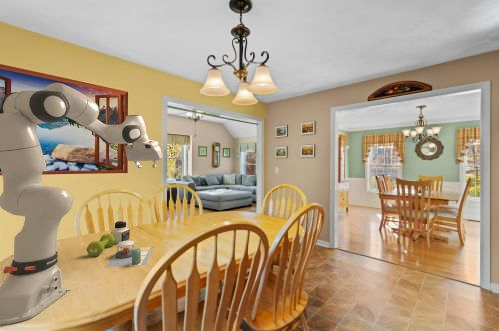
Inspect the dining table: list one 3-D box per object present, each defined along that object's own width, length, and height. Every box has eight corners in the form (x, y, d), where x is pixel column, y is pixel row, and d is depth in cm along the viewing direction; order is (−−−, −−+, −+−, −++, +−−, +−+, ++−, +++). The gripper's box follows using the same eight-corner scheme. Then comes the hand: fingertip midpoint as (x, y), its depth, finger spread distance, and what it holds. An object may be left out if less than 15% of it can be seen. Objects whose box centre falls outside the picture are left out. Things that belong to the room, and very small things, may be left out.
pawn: (139, 264, 109) (139, 251, 108) (130, 265, 108) (130, 252, 108) (141, 261, 112) (141, 248, 112) (132, 261, 111) (133, 249, 111)
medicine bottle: (121, 244, 136) (121, 223, 136) (110, 243, 138) (110, 222, 137) (129, 240, 144) (130, 220, 143) (119, 239, 145) (119, 219, 144)
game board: (145, 266, 109) (145, 257, 108) (104, 269, 105) (104, 260, 105) (154, 248, 131) (154, 241, 131) (120, 250, 127) (120, 242, 127)
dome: (131, 251, 116) (131, 244, 116) (115, 252, 115) (115, 245, 115) (135, 246, 123) (135, 240, 123) (120, 247, 122) (120, 240, 122)
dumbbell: (101, 257, 118) (101, 242, 118) (84, 257, 117) (84, 243, 117) (116, 245, 134) (116, 233, 134) (101, 245, 134) (101, 233, 133)
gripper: (120, 146, 129) (127, 170, 134) (154, 145, 125) (160, 169, 130) (127, 143, 134) (134, 165, 140) (160, 141, 131) (166, 164, 136)
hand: (147, 167), depth 135 cm, fingers open, 8 cm apart
